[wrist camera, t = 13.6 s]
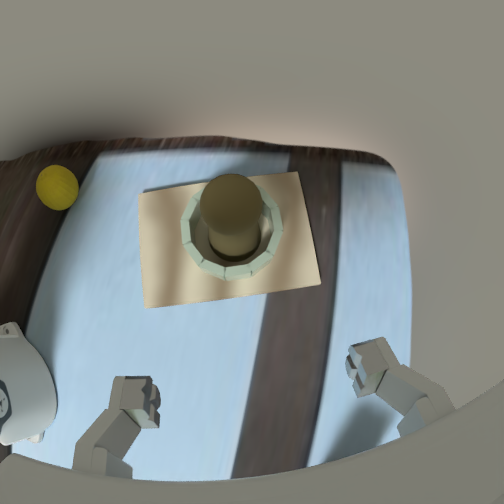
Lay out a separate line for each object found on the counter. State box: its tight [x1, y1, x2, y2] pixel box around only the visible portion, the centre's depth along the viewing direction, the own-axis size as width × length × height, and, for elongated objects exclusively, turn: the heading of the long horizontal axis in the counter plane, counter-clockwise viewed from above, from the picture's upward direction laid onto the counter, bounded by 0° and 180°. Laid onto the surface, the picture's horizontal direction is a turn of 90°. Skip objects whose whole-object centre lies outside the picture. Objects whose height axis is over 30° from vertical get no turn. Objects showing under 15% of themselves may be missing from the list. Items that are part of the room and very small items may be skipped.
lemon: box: [36, 165, 79, 210], centre depth 30 cm, size 6×6×8 cm
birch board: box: [138, 172, 321, 308], centre depth 33 cm, size 20×14×1 cm
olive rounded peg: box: [199, 174, 263, 262], centre depth 27 cm, size 6×6×11 cm
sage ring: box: [180, 185, 283, 281], centre depth 31 cm, size 10×10×4 cm
